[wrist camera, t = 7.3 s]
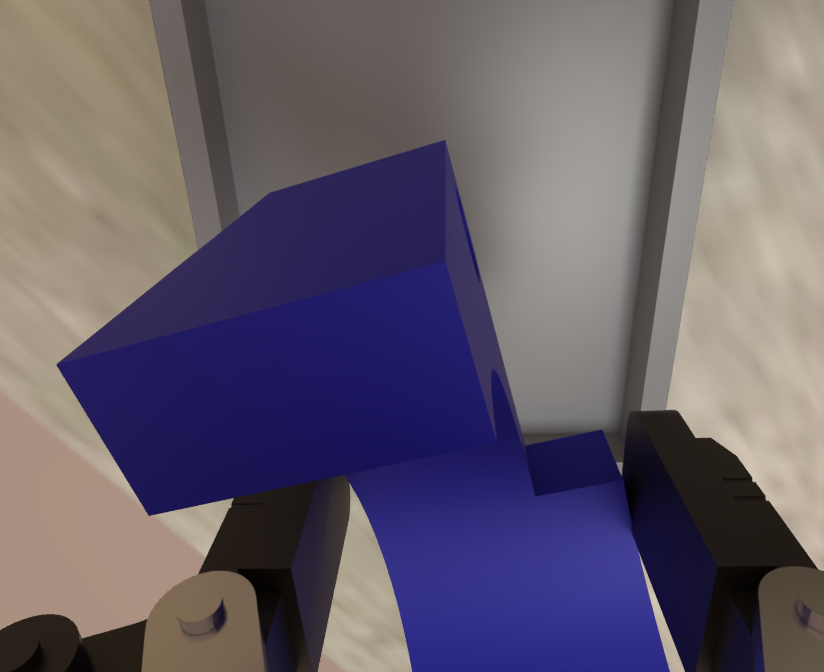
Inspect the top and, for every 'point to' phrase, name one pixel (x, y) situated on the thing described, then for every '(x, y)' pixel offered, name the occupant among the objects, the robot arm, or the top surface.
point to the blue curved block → (378, 418)
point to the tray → (484, 157)
